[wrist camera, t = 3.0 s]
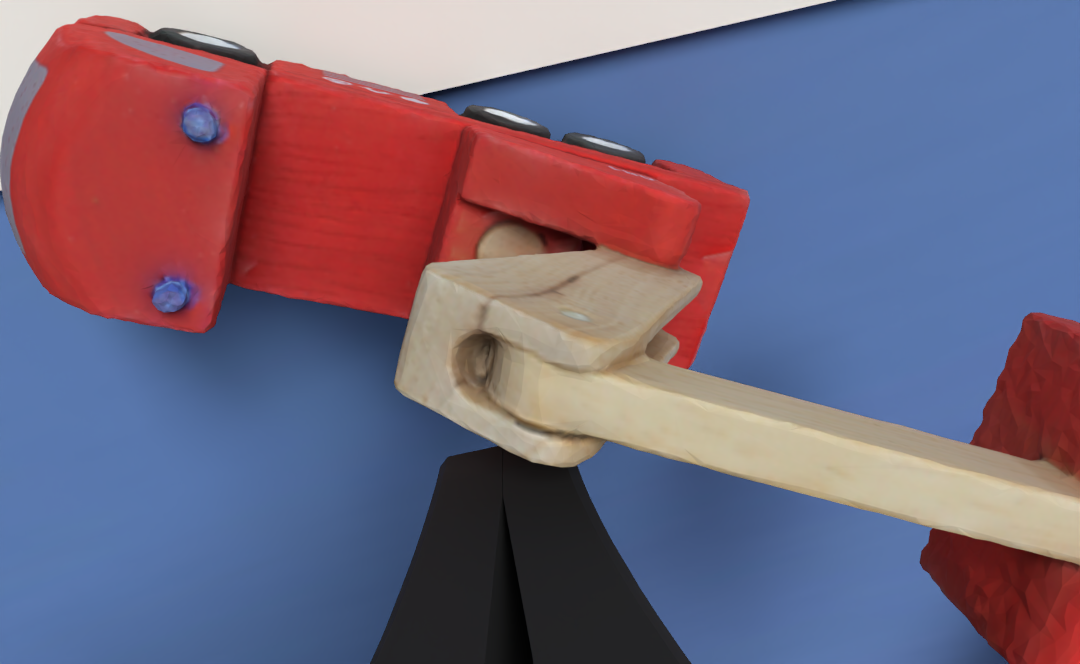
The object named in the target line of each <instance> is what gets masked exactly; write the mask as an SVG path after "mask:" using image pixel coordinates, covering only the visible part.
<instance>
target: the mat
mask: <svg viewBox="0 0 1080 664" xmlns="http://www.w3.org/2000/svg"><path fill="white" fill-rule="evenodd" d="M830 1H834V0H0V151H1V143H2V135H3V132H4V128H5V124H6V120H7V116H8V113H9V110H10V107H11V105H12V102H13V100H14V97H15V94H16V92H17V90H18V88H19V86H20V84H21V82H22V80H23V79H24V77H25V75H26V73H27V71H28V69H29V67H30V65H31V64H32V62H33V61H34V59H35V58H36V57H37V55H38V54H39V53H40V51H41V50H42V48H43V47H44V46H45V44H46V43H47V42H48V40H49V39H50V37H51V36H52V35H53V33H54V32H55V30H56V29H57V28H59V27H61V26H64V25H66V24H74V23H75V22H76V21H77V20H78V19H80V18H87V17H91V16H94V15H99V16H112V17H118V18H122V19H126V20H129V21H132V22H136V23H138V24H140V25H141V26H143V27H144V28H146V29H147V30H149V31H150V32H155V31H157V30H159V29H161V28H175V29H181V30H186V31H191V32H197V33H201V34H205V35H209V36H212V37H216V38H220V39H224V40H228V41H233V42H235V43H238V44H240V45H242V46H244V47H245V48H247V49H250V50H252V51H253V52H254V53H255V54H256V55H257V57H258V58H259V60H260V61H261V62H262V63H265V64H270V63H272V62H274V61H276V60H282V61H288V62H293V63H301V64H304V65H306V66H308V67H310V68H314V69H320V70H325V71H330V72H334V73H338V74H345V75H347V76H349V77H351V78H354V79H358V80H362V81H367V82H372V83H376V84H379V85H383V86H387V87H390V88H394V89H399V90H402V91H405V92H409V93H414V94H417V95H422V94H426V93H430V92H435V91H439V90H444V89H448V88H452V87H457V86H461V85H466V84H470V83H474V82H479V81H483V80H488V79H492V78H496V77H501V76H505V75H509V74H514V73H518V72H523V71H527V70H531V69H536V68H540V67H545V66H549V65H553V64H558V63H562V62H566V61H571V60H575V59H580V58H584V57H588V56H593V55H597V54H602V53H606V52H610V51H615V50H619V49H623V48H628V47H632V46H637V45H641V44H645V43H650V42H654V41H659V40H663V39H667V38H672V37H676V36H681V35H685V34H689V33H694V32H698V31H702V30H707V29H711V28H716V27H720V26H724V25H729V24H733V23H738V22H742V21H746V20H751V19H755V18H759V17H764V16H768V15H773V14H777V13H781V12H786V11H790V10H795V9H799V8H803V7H808V6H812V5H816V4H821V3H825V2H830ZM1 190H2V188H1V178H0V191H1Z"/></svg>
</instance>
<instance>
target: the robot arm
mask: <svg viewBox="0 0 1080 664" xmlns="http://www.w3.org/2000/svg"><path fill="white" fill-rule="evenodd" d="M370 664H691V662H690V661H689V660H688V658H687V657H686V656H685V654H684V653H683V651H682V650H681V649H680V647H679V646H678V644H677V643H676V641H675V640H674V638H673V637H672V635H671V634H670V633H669V631H668V630H667V628H666V627H665V625H664V624H663V622H662V621H661V620H660V618H659V617H658V615H657V614H656V612H655V611H654V609H653V608H652V606H651V604H650V603H649V601H648V600H647V598H646V597H645V595H644V594H643V592H642V591H641V589H640V587H639V586H638V584H637V582H636V581H635V579H634V577H633V576H632V574H631V572H630V571H629V569H628V567H627V566H626V564H625V562H624V560H623V559H622V557H621V555H620V554H619V552H618V550H617V549H616V547H615V545H614V544H613V542H612V540H611V538H610V536H609V534H608V533H607V531H606V529H605V527H604V525H603V523H602V521H601V519H600V517H599V515H598V513H597V511H596V509H595V507H594V505H593V503H592V501H591V499H590V497H589V494H588V492H587V490H586V487H585V485H584V483H583V480H582V478H581V475H580V472H579V470H578V467H577V465H576V466H574V467H556V466H550V465H545V464H539V463H534V462H531V461H529V460H526V459H524V458H522V457H520V456H517V455H515V454H513V453H511V452H509V451H507V450H505V449H503V448H502V447H500V446H496V447H492V448H487V449H482V450H478V451H473V452H468V453H464V454H459V455H454V456H450V457H448V458H447V459H446V460H445V461H444V463H443V464H442V465H441V467H440V471H439V475H438V479H437V483H436V486H435V490H434V493H433V497H432V500H431V504H430V507H429V510H428V514H427V517H426V520H425V523H424V526H423V529H422V532H421V535H420V538H419V541H418V544H417V547H416V550H415V553H414V556H413V558H412V561H411V564H410V567H409V569H408V572H407V575H406V577H405V580H404V582H403V585H402V588H401V590H400V593H399V595H398V598H397V601H396V603H395V606H394V608H393V611H392V613H391V616H390V619H389V621H388V624H387V626H386V629H385V631H384V633H383V636H382V638H381V641H380V643H379V645H378V647H377V649H376V652H375V654H374V656H373V658H372V661H371V663H370Z"/></svg>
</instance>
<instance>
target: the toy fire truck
mask: <svg viewBox="0 0 1080 664" xmlns="http://www.w3.org/2000/svg"><path fill="white" fill-rule="evenodd" d="M550 135H551V134H550V132H549V130H548V129H547V128H546V127H544V126H542V125H540V124H538V123H537V122H535V121H532V120H529V119H528V118H525V117H521V116H519V115H516V114H513V113H510V112H507V111H503V110H499V109H496V108H492V107H483V106H476V105H471V106H469V107H467V108H466V109H465V111H464V113H463V114H462V115H458V114H456V113H455V112H454V111H453V110H452V109H451V108H449V107H448V105H447V104H446V103H445V102H442V101H438V100H435V99H432V98H427V97H423V96H420V95H417V94H414V93H409V92H405V91H402V90H399V89H394V88H390V87H387V86H383V85H379V84H376V83H372V82H367V81H362V80H358V79H354V78H351V77H349V76H347V75H345V74H338V73H334V72H330V71H325V70H320V69H314V68H310V67H308V66H306V65H304V64H301V63H293V62H288V61H282V60H276V61H274V62H272V63H270V64H265V63H262V62H261V61H260V60H259V58H258V57H257V55H256V54H255V53H254V52H253V51H252V50H250V49H247V48H245V47H244V46H242V45H240V44H238V43H235V42H233V41H228V40H224V39H220V38H216V37H212V36H209V35H205V34H201V33H197V32H191V31H186V30H181V29H175V28H161V29H159V30H157V31H155V32H150V31H149V30H147V29H146V28H144V27H143V26H141V25H140V24H138V23H136V22H132V21H129V20H126V19H122V18H118V17H112V16H99V15H94V16H91V17H87V18H80V19H78V20H77V21H76V22H75V23H74V24H66V25H64V26H61V27H59V28H57V29H56V30H55V32H54V33H53V35H52V36H51V37H50V39H49V40H48V42H47V43H46V44H45V46H44V47H43V48H42V50H41V51H40V53H39V54H38V55H37V57H36V58H35V59H34V61H33V62H32V64H31V65H30V67H29V69H28V71H27V73H26V75H25V77H24V79H23V80H22V82H21V84H20V86H19V88H18V90H17V92H16V94H15V97H14V100H13V102H12V105H11V107H10V110H9V113H8V116H7V120H6V124H5V128H4V132H3V135H2V143H1V151H0V178H1V188H2V193H3V199H4V205H5V211H6V215H7V217H8V220H9V223H10V225H11V228H12V231H13V233H14V236H15V239H16V241H17V243H18V245H19V247H20V249H21V251H22V253H23V255H24V256H25V258H26V260H27V262H28V264H29V265H30V267H31V269H32V270H33V272H34V273H35V275H36V276H37V278H38V279H39V281H40V283H41V284H42V286H43V287H44V288H46V289H47V290H48V292H49V293H50V294H52V295H53V296H55V297H57V298H59V299H60V300H62V301H64V302H66V303H67V304H70V305H72V306H74V307H77V308H80V309H82V310H84V311H86V312H88V313H89V314H93V315H99V316H102V317H105V318H107V319H108V318H115V319H119V320H123V321H131V322H135V323H139V324H144V325H151V326H157V327H165V328H171V329H175V330H182V331H186V332H193V333H205V332H206V331H208V330H210V329H211V328H213V327H214V326H215V324H216V319H217V316H218V313H219V311H220V308H221V302H222V300H223V297H224V293H225V290H226V286H227V284H229V283H231V284H234V285H237V286H240V287H242V288H246V289H250V290H255V291H264V292H267V293H270V294H277V295H281V296H284V297H287V298H292V299H302V300H308V301H314V302H319V303H323V304H331V305H336V306H341V307H349V308H353V309H356V310H362V311H368V312H373V313H379V314H385V315H391V316H397V317H401V318H405V319H409V321H408V324H407V328H406V332H405V336H404V340H403V343H402V347H401V351H400V355H399V360H398V365H397V370H396V375H395V380H394V384H395V388H396V389H397V390H398V391H399V392H400V393H401V394H403V395H404V396H405V397H407V398H409V399H411V400H413V401H415V402H417V403H419V404H421V405H423V406H425V407H427V408H429V409H431V410H433V411H435V412H437V413H439V414H440V415H442V416H444V417H446V418H448V419H450V420H451V421H453V422H455V423H457V424H458V425H460V426H462V427H464V428H465V429H467V430H469V431H471V432H473V433H475V434H477V435H479V436H482V437H484V438H486V439H488V440H490V441H491V442H493V443H495V444H496V445H498V446H500V447H502V448H503V449H505V450H507V451H509V452H511V453H513V454H515V455H517V456H520V457H522V458H524V459H526V460H529V461H531V462H534V463H539V464H545V465H550V466H556V467H574V466H576V465H578V464H579V463H581V462H583V461H585V460H587V459H589V458H591V457H593V456H594V455H595V454H596V453H597V452H598V451H599V450H600V449H601V447H602V446H603V445H604V443H605V442H606V441H610V442H615V443H618V444H621V445H624V446H627V447H630V448H633V449H636V450H639V451H644V452H648V453H652V454H656V455H659V456H662V457H665V458H669V459H673V460H678V461H682V462H687V463H691V464H696V465H700V466H703V467H706V468H709V469H712V470H715V471H719V472H722V473H725V474H729V475H732V476H736V477H740V478H744V479H748V480H752V481H756V482H760V483H764V484H768V485H772V486H775V487H779V488H783V489H787V490H791V491H795V492H798V493H802V494H806V495H810V496H814V497H818V498H822V499H826V500H829V501H833V502H837V503H841V504H845V505H848V506H852V507H856V508H859V509H863V510H868V511H873V512H877V513H881V514H885V515H888V516H892V517H896V518H899V519H902V520H906V521H909V522H913V523H917V524H920V525H924V526H928V527H931V528H932V530H931V531H930V536H929V543H928V544H927V545H926V546H925V548H924V549H923V550H922V552H921V558H920V564H921V566H922V568H923V570H925V571H927V572H928V573H929V574H930V576H931V578H932V579H933V580H934V581H935V582H936V584H937V585H938V586H939V587H940V589H941V591H942V592H943V593H944V595H945V596H946V597H947V598H948V599H949V600H950V601H951V602H952V603H953V604H954V605H955V606H956V607H957V608H958V609H959V610H960V611H961V612H962V613H963V614H964V615H965V616H966V617H967V618H968V620H969V621H970V622H971V624H972V625H973V626H974V628H975V629H976V631H977V632H978V633H979V634H980V635H981V636H982V637H983V638H985V639H986V640H987V642H988V644H989V645H990V646H991V647H992V648H993V649H994V650H996V651H997V652H998V653H999V654H1000V655H1001V656H1002V657H1004V658H1005V659H1006V660H1007V661H1008V663H1009V664H1080V323H1078V322H1076V321H1073V320H1068V319H1063V318H1059V317H1055V316H1051V315H1047V314H1044V313H1030V314H1028V315H1027V316H1026V317H1025V318H1024V319H1023V323H1022V328H1021V332H1020V334H1019V336H1018V337H1017V339H1016V341H1015V342H1014V344H1013V345H1012V346H1011V347H1010V349H1009V352H1008V356H1007V360H1006V364H1005V368H1004V370H1003V371H1002V373H1001V374H1000V376H999V377H998V379H997V386H996V391H995V392H994V394H993V396H992V397H991V398H990V399H989V400H988V402H987V404H986V406H985V408H984V409H983V421H982V424H981V425H980V427H979V428H978V429H977V430H976V432H975V433H974V437H973V440H972V441H971V442H970V444H967V443H963V442H959V441H955V440H951V439H947V438H943V437H940V436H936V435H933V434H929V433H926V432H922V431H919V430H916V429H912V428H909V427H905V426H902V425H897V424H893V423H889V422H884V421H880V420H876V419H872V418H868V417H864V416H861V415H857V414H853V413H849V412H846V411H842V410H838V409H835V408H831V407H827V406H823V405H820V404H816V403H812V402H808V401H805V400H801V399H797V398H793V397H790V396H786V395H782V394H778V393H775V392H771V391H767V390H763V389H760V388H756V387H752V386H748V385H745V384H741V383H737V382H733V381H729V380H726V379H722V378H718V377H714V376H710V375H707V374H703V373H699V372H695V371H691V370H688V368H689V367H690V366H691V365H692V363H693V362H694V360H695V358H696V354H697V352H698V349H699V346H700V343H701V340H702V337H703V335H704V333H705V331H706V328H707V322H708V319H709V317H710V314H711V311H712V309H713V306H714V304H715V301H716V299H717V296H718V293H719V290H720V287H721V284H722V282H723V279H724V276H725V273H726V270H727V267H728V264H729V261H730V258H731V256H732V253H733V250H734V248H735V246H736V243H737V240H738V237H739V232H740V230H741V228H742V225H743V222H744V220H745V217H746V213H747V210H748V206H749V203H750V199H749V195H748V191H746V190H744V189H739V188H738V187H735V186H733V185H728V184H726V183H723V182H722V181H720V180H718V179H716V178H714V177H713V176H711V175H708V174H705V173H704V172H702V171H700V170H697V169H694V168H691V167H688V166H685V165H682V164H676V163H673V162H670V161H665V160H655V161H654V162H653V163H652V165H648V164H645V158H644V155H643V154H642V153H641V152H639V151H636V150H634V149H631V148H629V147H627V146H624V145H620V144H618V143H616V142H613V141H610V140H606V139H601V138H597V137H595V136H591V135H585V134H580V133H568V134H565V136H564V137H563V139H562V141H561V142H559V141H553V140H550Z"/></svg>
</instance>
